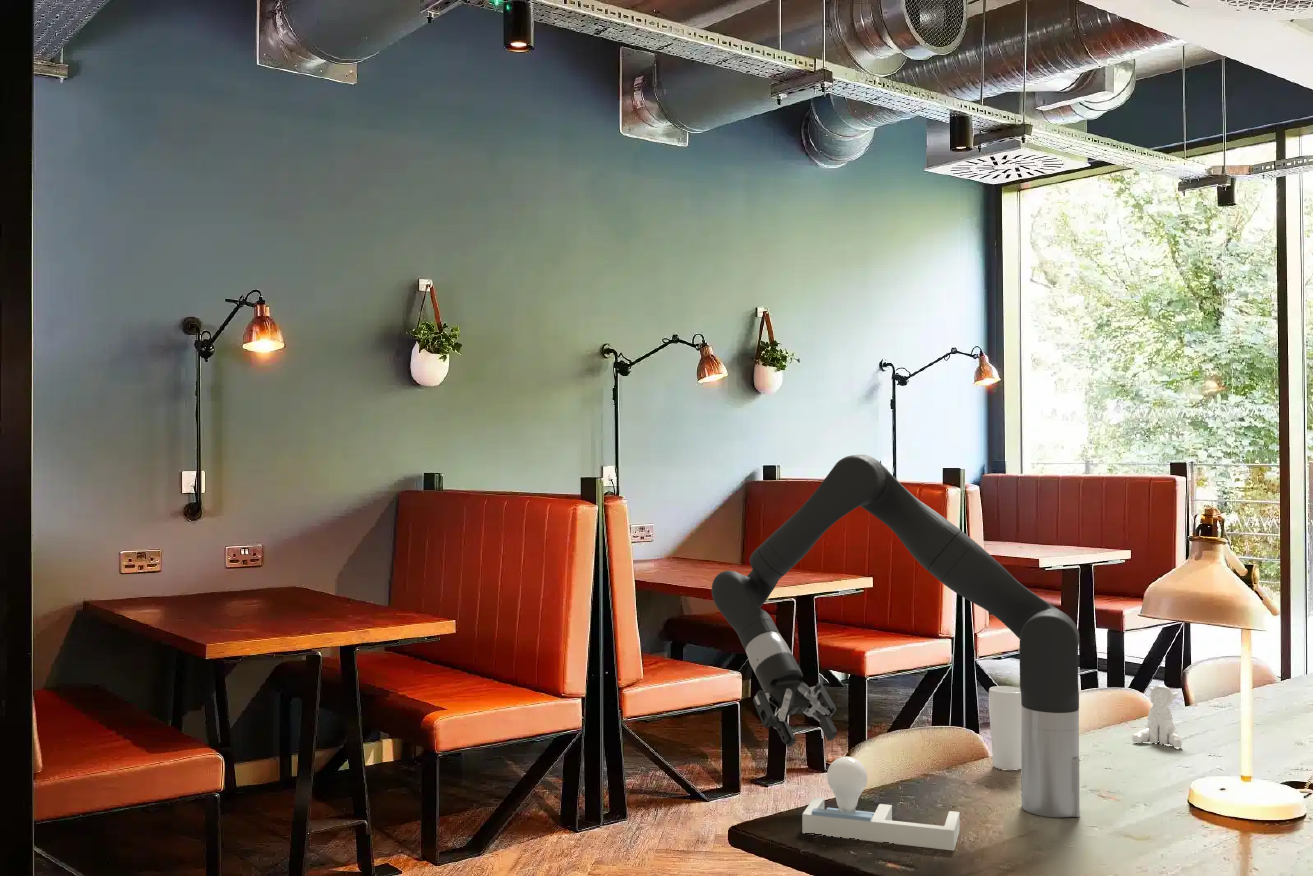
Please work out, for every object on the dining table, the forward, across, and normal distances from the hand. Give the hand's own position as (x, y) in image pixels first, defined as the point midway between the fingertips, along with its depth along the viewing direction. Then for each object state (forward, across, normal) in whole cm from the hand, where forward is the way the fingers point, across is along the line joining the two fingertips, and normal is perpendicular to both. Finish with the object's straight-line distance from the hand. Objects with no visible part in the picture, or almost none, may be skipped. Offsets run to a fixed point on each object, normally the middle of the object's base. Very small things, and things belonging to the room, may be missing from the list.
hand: (812, 741), depth 195 cm
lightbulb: (+16, -2, 0) cm, 16 cm away
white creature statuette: (+7, +90, +10) cm, 91 cm away
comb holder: (+19, +2, -3) cm, 19 cm away
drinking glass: (+7, +47, +10) cm, 49 cm away
